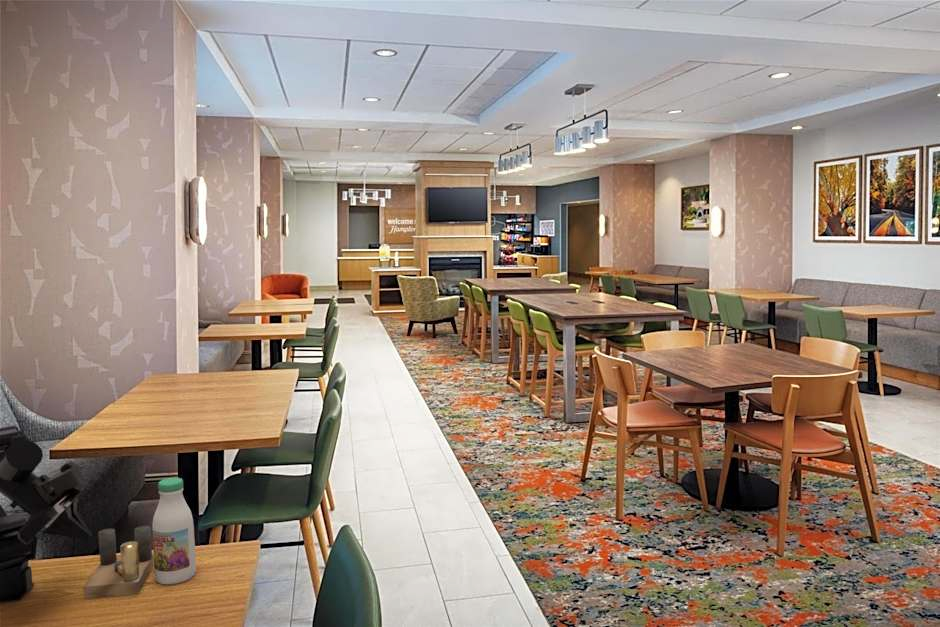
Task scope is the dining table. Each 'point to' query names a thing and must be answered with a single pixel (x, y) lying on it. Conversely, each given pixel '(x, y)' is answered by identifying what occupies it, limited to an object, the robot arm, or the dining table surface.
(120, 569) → the gold cylinder with bar
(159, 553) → the milk bottle
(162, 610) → the dining table surface
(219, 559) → the dining table surface
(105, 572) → the square plate with pegs
